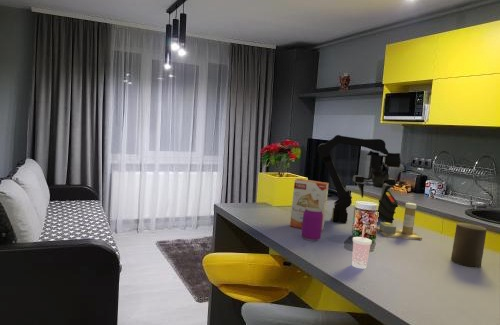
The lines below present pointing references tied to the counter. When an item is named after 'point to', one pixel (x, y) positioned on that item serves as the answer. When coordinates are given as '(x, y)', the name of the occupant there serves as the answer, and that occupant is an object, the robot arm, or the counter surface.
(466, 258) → the pillar candle
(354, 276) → the counter surface
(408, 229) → the sprinkles bottle
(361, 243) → the beverage cup
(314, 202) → the cracker box
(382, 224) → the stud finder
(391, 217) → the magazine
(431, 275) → the counter surface
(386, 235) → the plywood board
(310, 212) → the beverage can
